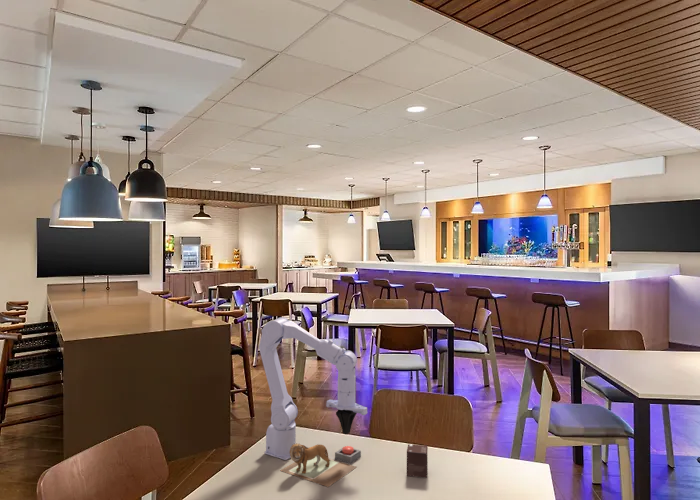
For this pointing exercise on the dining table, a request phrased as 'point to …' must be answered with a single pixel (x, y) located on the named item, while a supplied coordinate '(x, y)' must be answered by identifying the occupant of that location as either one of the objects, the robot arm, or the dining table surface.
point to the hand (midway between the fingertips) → (346, 433)
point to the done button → (348, 450)
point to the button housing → (348, 456)
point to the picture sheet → (320, 471)
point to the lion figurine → (308, 455)
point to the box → (417, 460)
